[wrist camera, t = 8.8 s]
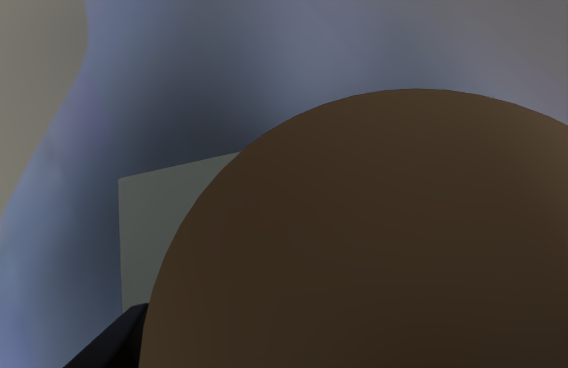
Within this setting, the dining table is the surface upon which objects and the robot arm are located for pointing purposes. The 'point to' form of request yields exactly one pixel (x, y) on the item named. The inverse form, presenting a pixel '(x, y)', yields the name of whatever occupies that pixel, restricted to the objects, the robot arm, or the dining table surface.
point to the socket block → (156, 219)
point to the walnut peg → (376, 243)
